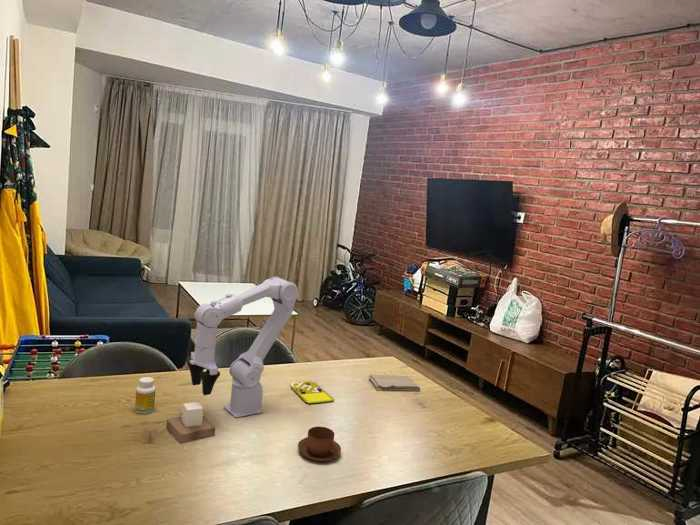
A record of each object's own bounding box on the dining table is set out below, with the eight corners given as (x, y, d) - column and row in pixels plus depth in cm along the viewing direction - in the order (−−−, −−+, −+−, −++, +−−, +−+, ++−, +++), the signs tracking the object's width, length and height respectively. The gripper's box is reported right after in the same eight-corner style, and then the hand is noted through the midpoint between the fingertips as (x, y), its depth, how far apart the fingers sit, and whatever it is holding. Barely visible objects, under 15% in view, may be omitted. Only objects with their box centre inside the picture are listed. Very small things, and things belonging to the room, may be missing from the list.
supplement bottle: (147, 415, 152) (149, 384, 151) (130, 411, 153) (133, 380, 152) (157, 408, 158) (159, 378, 156) (141, 404, 159) (143, 374, 157)
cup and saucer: (346, 450, 148) (348, 429, 147) (330, 469, 136) (333, 448, 135) (307, 438, 151) (310, 418, 150) (289, 457, 140) (292, 435, 139)
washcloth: (366, 380, 204) (367, 372, 204) (408, 380, 209) (409, 373, 209) (376, 392, 193) (377, 384, 192) (420, 393, 198) (421, 385, 198)
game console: (336, 403, 179) (336, 399, 179) (307, 406, 173) (307, 402, 173) (312, 383, 194) (313, 379, 194) (285, 386, 189) (286, 382, 188)
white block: (196, 418, 149) (198, 401, 149) (201, 424, 146) (203, 408, 145) (181, 420, 147) (183, 403, 146) (186, 427, 143) (187, 410, 143)
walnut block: (199, 422, 153) (200, 412, 153) (214, 437, 146) (215, 427, 146) (166, 429, 147) (167, 419, 146) (180, 445, 139) (180, 434, 139)
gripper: (182, 339, 154) (178, 382, 156) (202, 354, 143) (198, 401, 145) (204, 336, 158) (201, 379, 160) (226, 352, 147) (221, 397, 149)
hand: (201, 389), depth 153 cm, fingers open, 7 cm apart
